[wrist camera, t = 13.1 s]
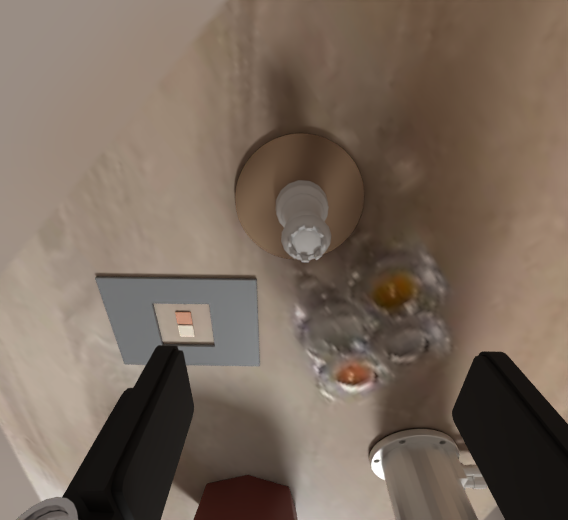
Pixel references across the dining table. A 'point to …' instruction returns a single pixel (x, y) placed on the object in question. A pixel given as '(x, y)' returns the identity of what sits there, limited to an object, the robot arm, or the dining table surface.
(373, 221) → the dining table surface
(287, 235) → the rook chess piece
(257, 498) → the bucket
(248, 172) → the walnut coaster
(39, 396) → the dining table surface
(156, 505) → the robot arm
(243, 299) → the grey frame plate
